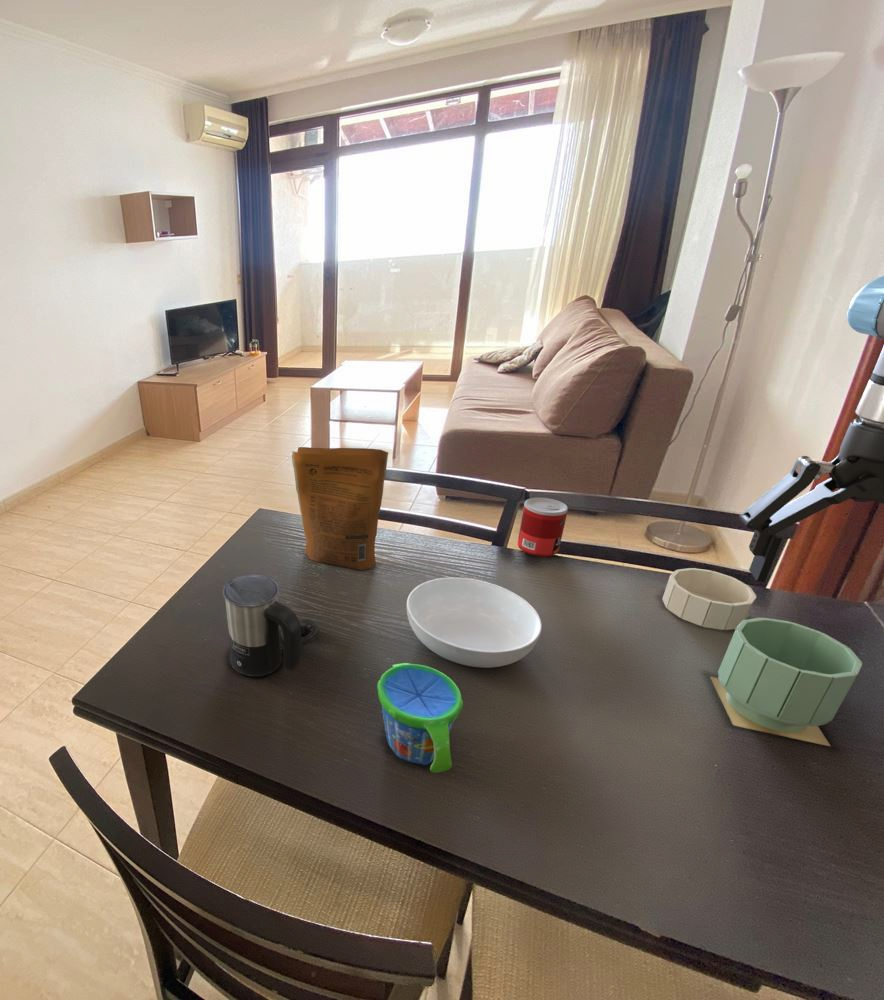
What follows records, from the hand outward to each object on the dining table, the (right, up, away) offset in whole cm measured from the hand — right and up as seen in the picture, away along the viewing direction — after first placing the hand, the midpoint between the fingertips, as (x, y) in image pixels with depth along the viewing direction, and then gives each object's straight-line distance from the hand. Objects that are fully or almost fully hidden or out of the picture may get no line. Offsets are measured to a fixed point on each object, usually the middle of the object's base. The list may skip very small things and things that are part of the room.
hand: (827, 585), depth 67 cm
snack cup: (-49, -24, +9) cm, 55 cm away
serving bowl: (-33, -14, +27) cm, 45 cm away
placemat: (+1, -19, +9) cm, 22 cm away
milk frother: (-67, -16, +29) cm, 74 cm away
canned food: (-6, 0, +51) cm, 52 cm away
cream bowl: (+10, -9, +29) cm, 32 cm away
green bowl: (+1, -19, +9) cm, 21 cm away
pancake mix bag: (-50, -4, +53) cm, 73 cm away
